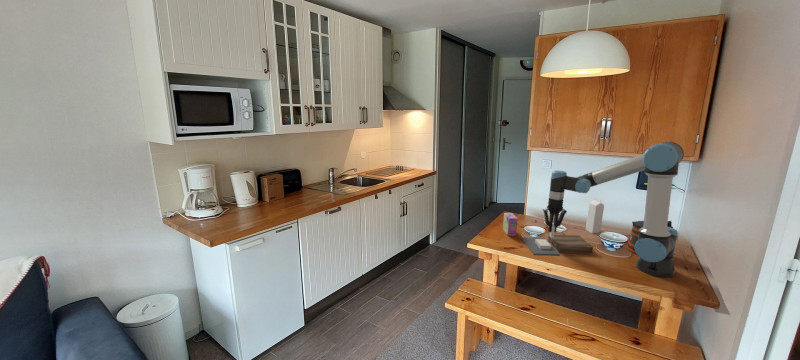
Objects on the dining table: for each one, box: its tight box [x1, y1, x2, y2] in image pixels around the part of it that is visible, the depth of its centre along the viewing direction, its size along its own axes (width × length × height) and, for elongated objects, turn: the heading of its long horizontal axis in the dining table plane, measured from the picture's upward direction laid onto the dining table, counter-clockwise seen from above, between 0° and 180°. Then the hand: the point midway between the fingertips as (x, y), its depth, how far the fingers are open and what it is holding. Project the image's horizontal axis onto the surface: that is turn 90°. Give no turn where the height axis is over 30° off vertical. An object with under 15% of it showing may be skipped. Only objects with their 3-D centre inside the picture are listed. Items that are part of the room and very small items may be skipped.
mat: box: [521, 237, 561, 256], centre depth 191 cm, size 22×14×1 cm, turn 177°
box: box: [502, 212, 519, 237], centre depth 210 cm, size 10×6×12 cm, turn 179°
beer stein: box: [626, 220, 674, 255], centre depth 182 cm, size 19×15×20 cm
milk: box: [585, 197, 605, 234], centre depth 211 cm, size 6×6×22 cm
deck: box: [547, 234, 594, 255], centre depth 190 cm, size 16×18×4 cm
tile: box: [535, 238, 551, 249], centre depth 190 cm, size 9×6×2 cm, turn 177°
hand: (551, 237), depth 189 cm, fingers closed
